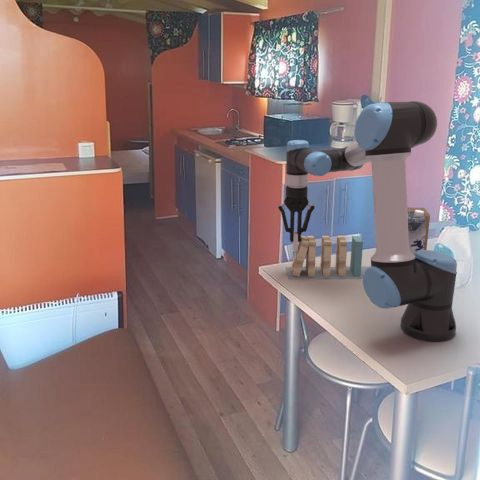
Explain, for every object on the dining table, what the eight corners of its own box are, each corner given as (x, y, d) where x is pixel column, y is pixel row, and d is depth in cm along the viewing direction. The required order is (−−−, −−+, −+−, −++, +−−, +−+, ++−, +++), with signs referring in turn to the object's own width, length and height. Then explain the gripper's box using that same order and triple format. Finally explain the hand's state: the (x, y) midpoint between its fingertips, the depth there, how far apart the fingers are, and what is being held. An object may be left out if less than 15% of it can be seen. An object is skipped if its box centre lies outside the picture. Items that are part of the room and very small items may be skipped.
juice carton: (392, 291, 189) (399, 213, 180) (392, 279, 198) (398, 205, 190) (420, 293, 187) (428, 215, 178) (418, 281, 196) (426, 207, 188)
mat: (378, 279, 198) (378, 278, 198) (288, 280, 198) (288, 279, 198) (370, 267, 210) (370, 266, 210) (285, 268, 209) (285, 267, 209)
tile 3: (329, 276, 200) (331, 241, 196) (323, 276, 200) (324, 242, 196) (326, 269, 207) (328, 235, 203) (320, 269, 207) (321, 235, 203)
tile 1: (299, 276, 200) (309, 243, 196) (292, 275, 200) (302, 241, 196) (297, 269, 207) (306, 237, 203) (290, 268, 207) (300, 235, 203)
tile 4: (345, 276, 200) (347, 241, 196) (338, 276, 200) (340, 241, 196) (341, 269, 207) (343, 235, 203) (335, 269, 207) (337, 235, 203)
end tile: (360, 276, 200) (362, 241, 196) (353, 276, 200) (356, 241, 196) (356, 269, 207) (358, 235, 203) (350, 269, 207) (352, 235, 203)
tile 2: (314, 276, 200) (316, 242, 196) (307, 276, 200) (309, 242, 196) (312, 269, 207) (313, 236, 203) (305, 269, 207) (306, 236, 203)
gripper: (314, 183, 197) (311, 246, 204) (277, 183, 197) (276, 247, 204) (317, 187, 190) (314, 253, 197) (278, 188, 190) (277, 253, 197)
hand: (295, 250), depth 201 cm, fingers closed
